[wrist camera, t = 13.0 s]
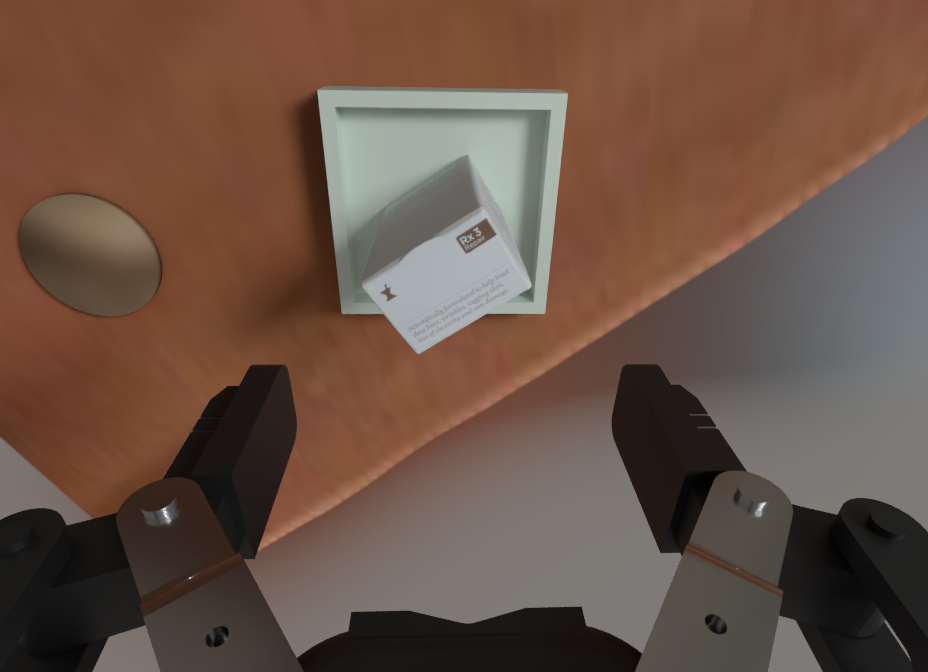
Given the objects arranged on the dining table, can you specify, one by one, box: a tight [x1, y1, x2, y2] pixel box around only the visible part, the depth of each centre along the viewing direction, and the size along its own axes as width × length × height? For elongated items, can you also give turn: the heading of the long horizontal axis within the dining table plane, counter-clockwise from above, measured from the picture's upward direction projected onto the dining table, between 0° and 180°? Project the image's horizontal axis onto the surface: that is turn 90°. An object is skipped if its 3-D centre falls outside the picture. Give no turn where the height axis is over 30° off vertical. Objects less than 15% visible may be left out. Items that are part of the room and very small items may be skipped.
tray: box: [317, 86, 568, 314], centre depth 32 cm, size 13×13×2 cm
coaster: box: [19, 193, 162, 317], centre depth 34 cm, size 8×8×1 cm
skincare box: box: [360, 155, 532, 354], centre depth 27 cm, size 6×4×12 cm
